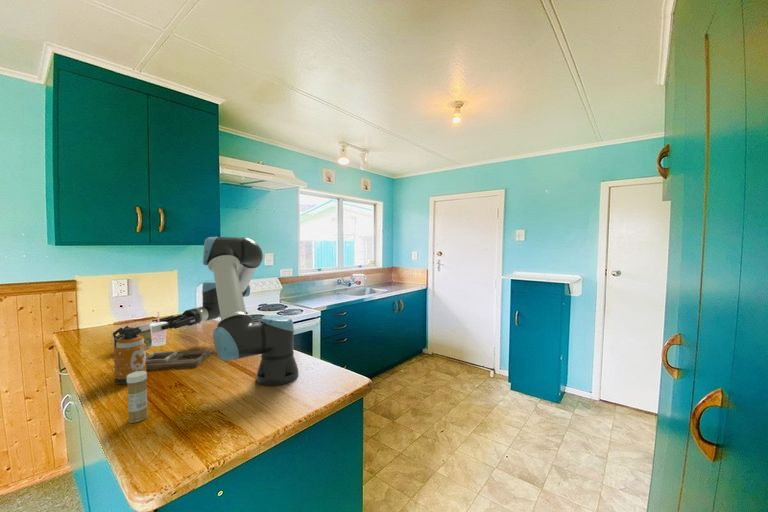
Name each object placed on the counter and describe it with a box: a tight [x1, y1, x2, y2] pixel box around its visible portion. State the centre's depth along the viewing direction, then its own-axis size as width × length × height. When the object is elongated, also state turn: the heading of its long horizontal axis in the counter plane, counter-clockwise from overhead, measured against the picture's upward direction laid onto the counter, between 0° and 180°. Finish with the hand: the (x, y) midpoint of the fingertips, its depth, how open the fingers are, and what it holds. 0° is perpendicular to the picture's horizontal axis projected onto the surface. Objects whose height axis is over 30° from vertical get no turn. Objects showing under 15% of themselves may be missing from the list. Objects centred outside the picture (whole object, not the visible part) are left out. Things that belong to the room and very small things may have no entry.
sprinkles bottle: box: [126, 370, 149, 424], centre depth 88 cm, size 5×5×13 cm
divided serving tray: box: [146, 349, 212, 371], centre depth 131 cm, size 15×23×3 cm, turn 100°
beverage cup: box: [150, 311, 167, 347], centre depth 130 cm, size 6×6×14 cm
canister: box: [112, 325, 147, 385], centre depth 113 cm, size 9×11×20 cm
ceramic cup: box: [132, 325, 153, 350], centre depth 150 cm, size 13×10×10 cm
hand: (146, 329), depth 125 cm, fingers closed on beverage cup, 6 cm apart
